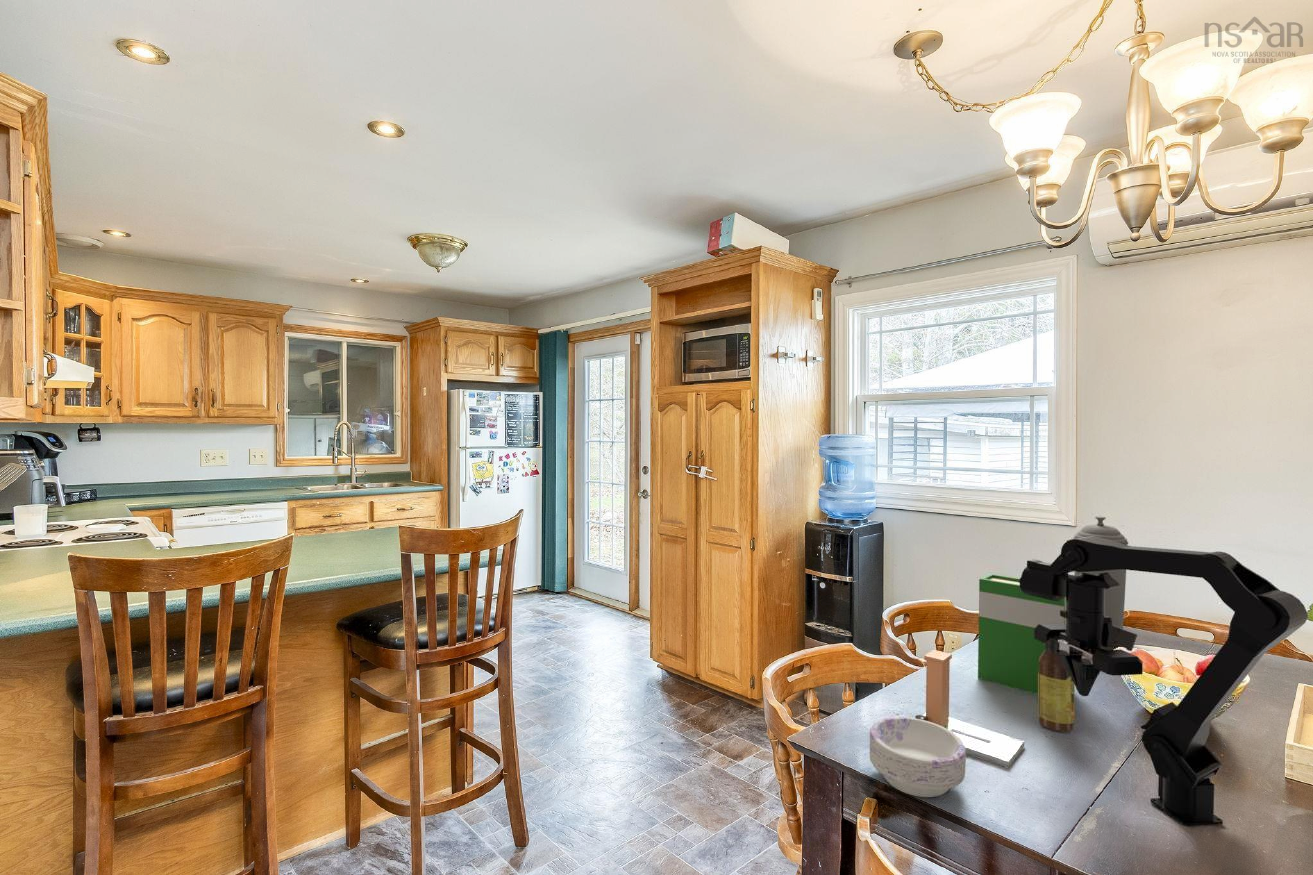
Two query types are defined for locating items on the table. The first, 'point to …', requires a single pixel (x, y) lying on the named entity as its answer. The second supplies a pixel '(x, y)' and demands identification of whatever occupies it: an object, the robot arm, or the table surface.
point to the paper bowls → (917, 755)
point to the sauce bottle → (1055, 691)
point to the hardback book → (1012, 632)
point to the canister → (1109, 571)
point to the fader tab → (937, 687)
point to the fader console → (984, 742)
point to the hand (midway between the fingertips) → (1083, 695)
